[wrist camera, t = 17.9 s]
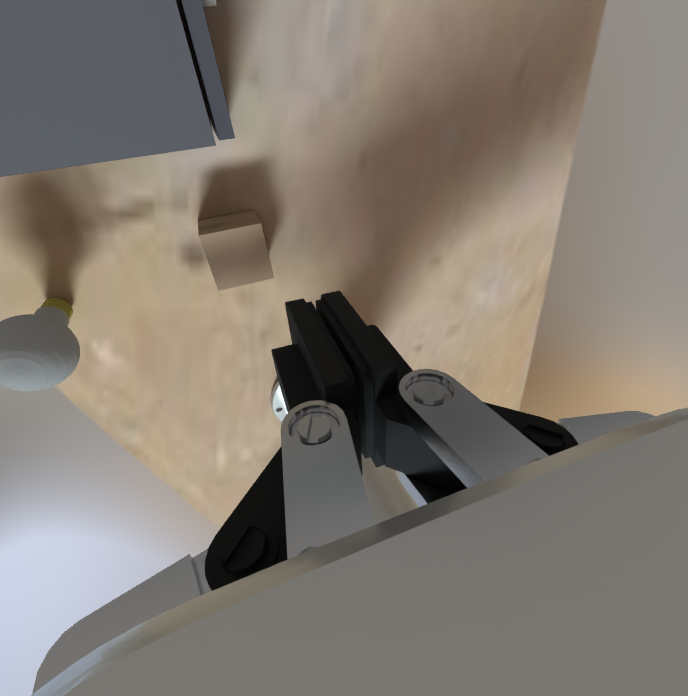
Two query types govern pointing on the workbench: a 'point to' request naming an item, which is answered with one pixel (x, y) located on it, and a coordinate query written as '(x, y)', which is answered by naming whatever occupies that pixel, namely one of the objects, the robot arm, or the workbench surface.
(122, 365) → the workbench surface
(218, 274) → the brown block
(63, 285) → the workbench surface
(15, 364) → the light bulb
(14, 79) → the box
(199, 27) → the grey drawer
